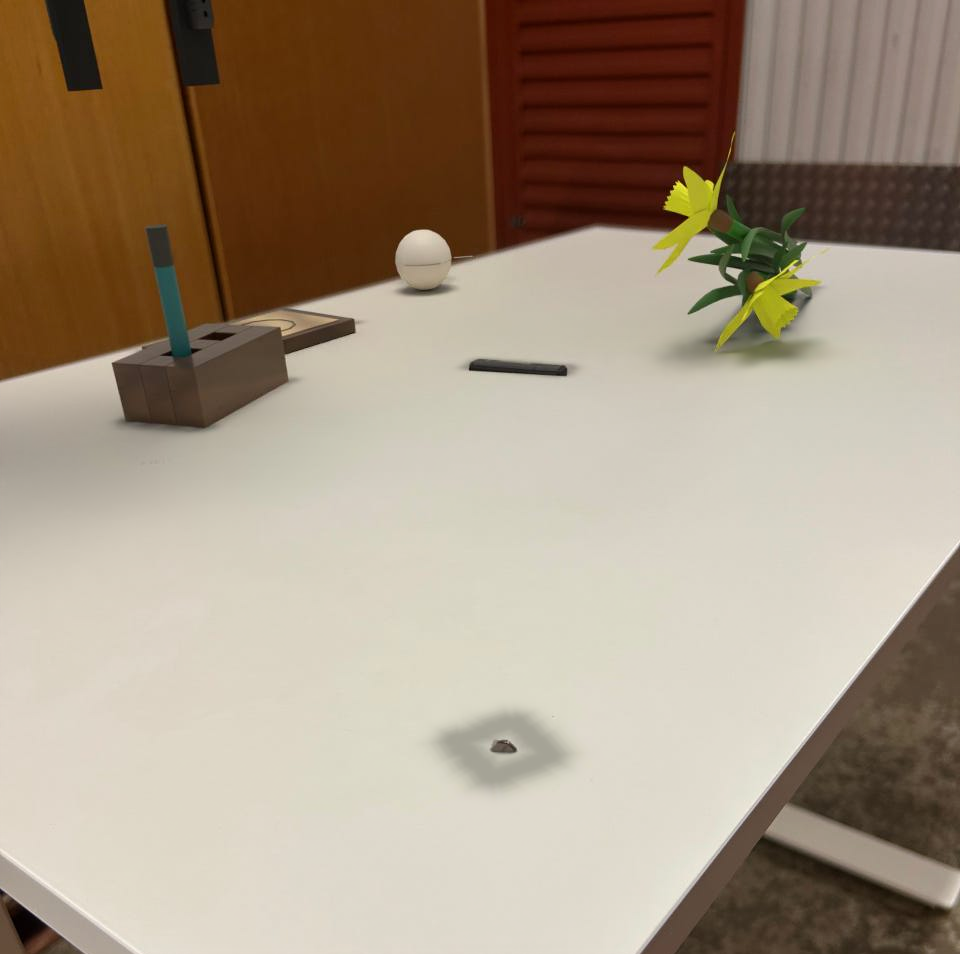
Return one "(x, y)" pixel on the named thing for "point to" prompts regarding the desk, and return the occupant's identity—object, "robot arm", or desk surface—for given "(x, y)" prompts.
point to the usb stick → (517, 367)
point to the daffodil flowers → (759, 270)
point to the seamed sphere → (423, 259)
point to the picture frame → (299, 327)
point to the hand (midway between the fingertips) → (141, 88)
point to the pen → (168, 289)
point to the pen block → (201, 375)
